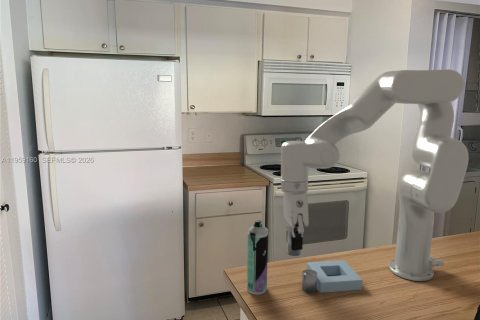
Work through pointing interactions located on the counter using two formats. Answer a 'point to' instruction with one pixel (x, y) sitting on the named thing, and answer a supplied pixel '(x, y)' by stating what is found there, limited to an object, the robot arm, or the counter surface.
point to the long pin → (289, 235)
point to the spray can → (257, 259)
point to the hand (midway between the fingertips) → (294, 245)
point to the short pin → (309, 281)
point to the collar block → (335, 283)
